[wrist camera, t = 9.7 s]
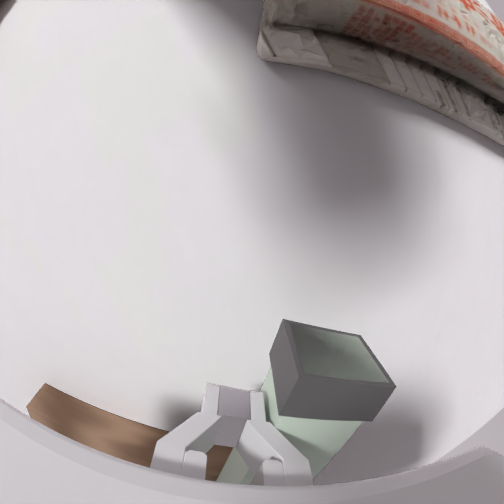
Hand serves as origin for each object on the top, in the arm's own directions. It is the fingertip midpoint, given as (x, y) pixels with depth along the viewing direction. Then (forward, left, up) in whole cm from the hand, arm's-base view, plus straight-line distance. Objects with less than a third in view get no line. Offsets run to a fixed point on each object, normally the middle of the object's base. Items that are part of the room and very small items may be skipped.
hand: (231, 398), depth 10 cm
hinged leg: (+3, -5, -1) cm, 6 cm away
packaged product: (+6, +19, -5) cm, 21 cm away
